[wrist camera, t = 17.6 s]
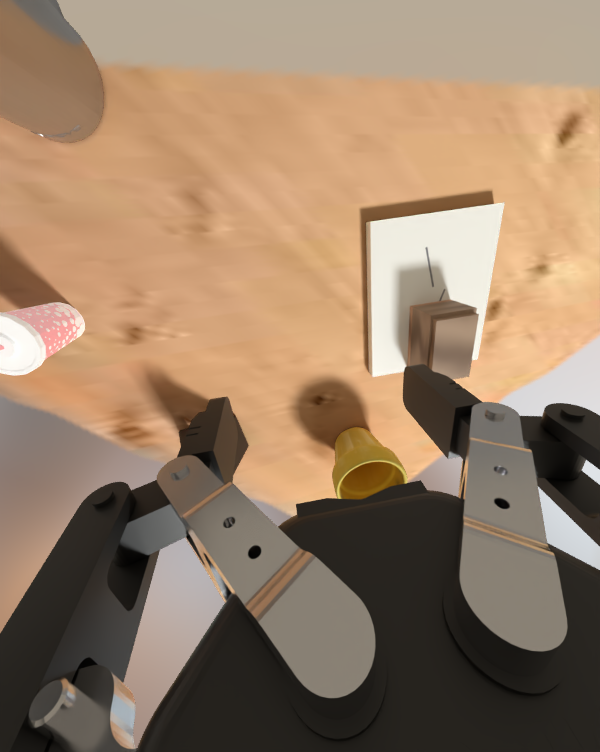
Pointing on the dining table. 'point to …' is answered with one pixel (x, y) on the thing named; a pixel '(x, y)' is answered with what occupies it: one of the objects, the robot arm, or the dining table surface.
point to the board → (425, 273)
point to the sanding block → (442, 337)
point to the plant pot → (364, 465)
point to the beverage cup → (36, 335)
